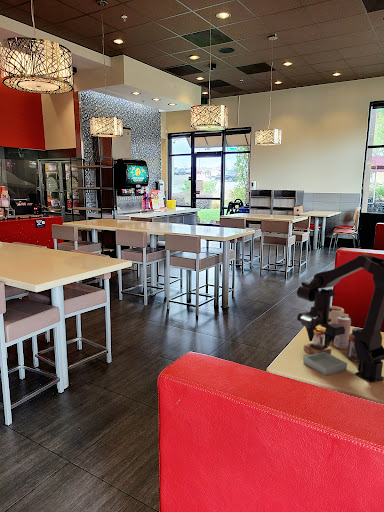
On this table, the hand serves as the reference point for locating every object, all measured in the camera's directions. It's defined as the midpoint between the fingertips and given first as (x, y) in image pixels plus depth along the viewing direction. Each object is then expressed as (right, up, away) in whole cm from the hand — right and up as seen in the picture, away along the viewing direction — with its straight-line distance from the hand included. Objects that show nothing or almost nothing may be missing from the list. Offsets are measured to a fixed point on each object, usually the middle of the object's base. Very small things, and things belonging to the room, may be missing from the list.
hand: (318, 344), depth 145 cm
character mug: (+11, -1, +16) cm, 19 cm away
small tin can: (0, -3, +1) cm, 3 cm away
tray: (-2, -5, -11) cm, 13 cm away
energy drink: (+11, -3, +7) cm, 13 cm away
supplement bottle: (+13, -4, -4) cm, 14 cm away
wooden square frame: (0, -3, +1) cm, 3 cm away
